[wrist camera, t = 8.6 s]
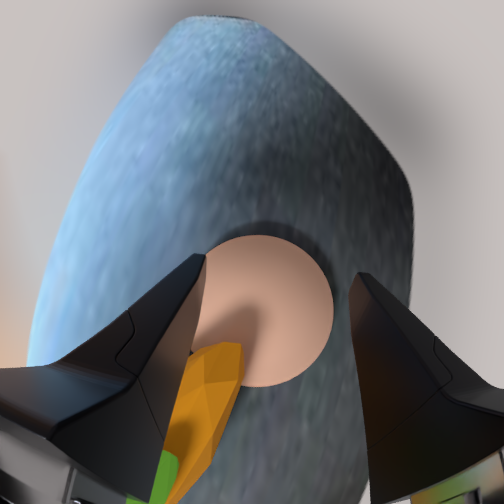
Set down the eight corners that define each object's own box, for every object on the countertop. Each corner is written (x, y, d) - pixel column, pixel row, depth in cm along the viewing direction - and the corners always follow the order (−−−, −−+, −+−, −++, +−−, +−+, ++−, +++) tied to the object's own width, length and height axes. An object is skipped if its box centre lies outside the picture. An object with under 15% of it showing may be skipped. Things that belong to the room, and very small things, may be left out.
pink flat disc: (342, 356, 18) (349, 359, 17) (207, 396, 17) (205, 402, 16) (304, 224, 19) (308, 219, 18) (168, 260, 18) (164, 257, 17)
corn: (21, 527, 7) (152, 294, 11) (60, 480, 15) (178, 293, 18) (118, 585, 7) (313, 398, 11) (136, 528, 15) (276, 359, 18)
